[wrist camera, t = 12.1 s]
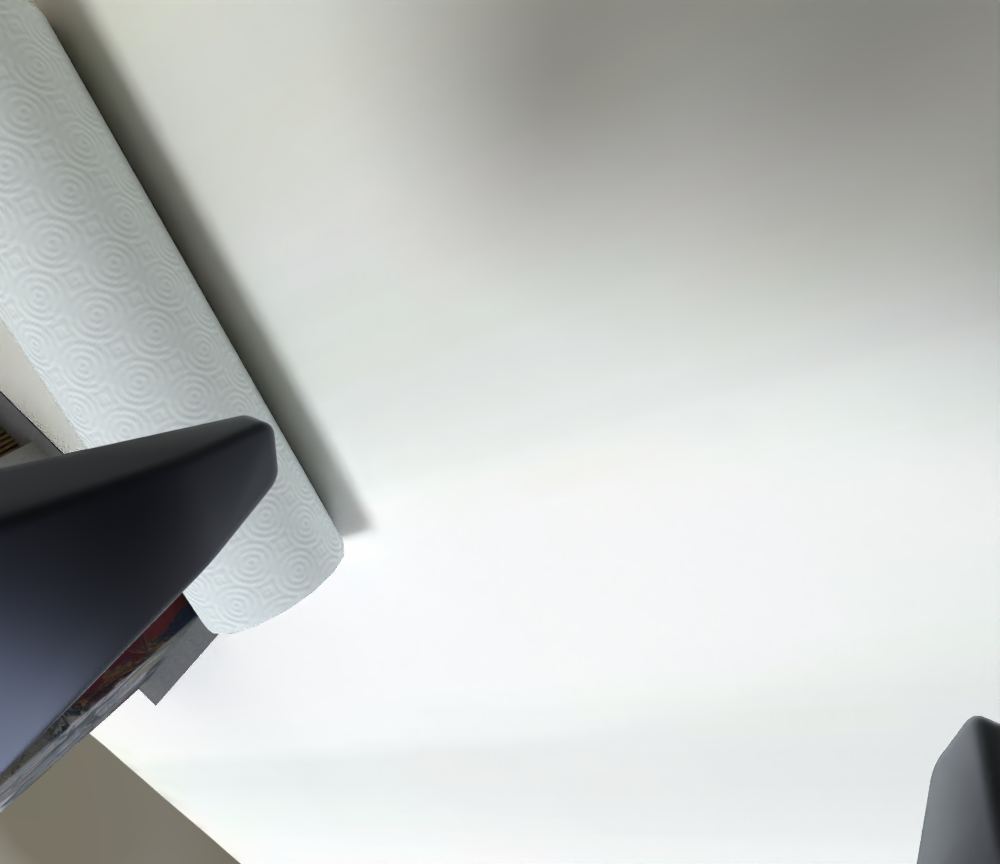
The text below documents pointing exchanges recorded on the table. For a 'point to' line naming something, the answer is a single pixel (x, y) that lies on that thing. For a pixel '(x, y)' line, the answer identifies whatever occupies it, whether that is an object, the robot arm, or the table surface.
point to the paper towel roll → (131, 319)
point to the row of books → (141, 666)
